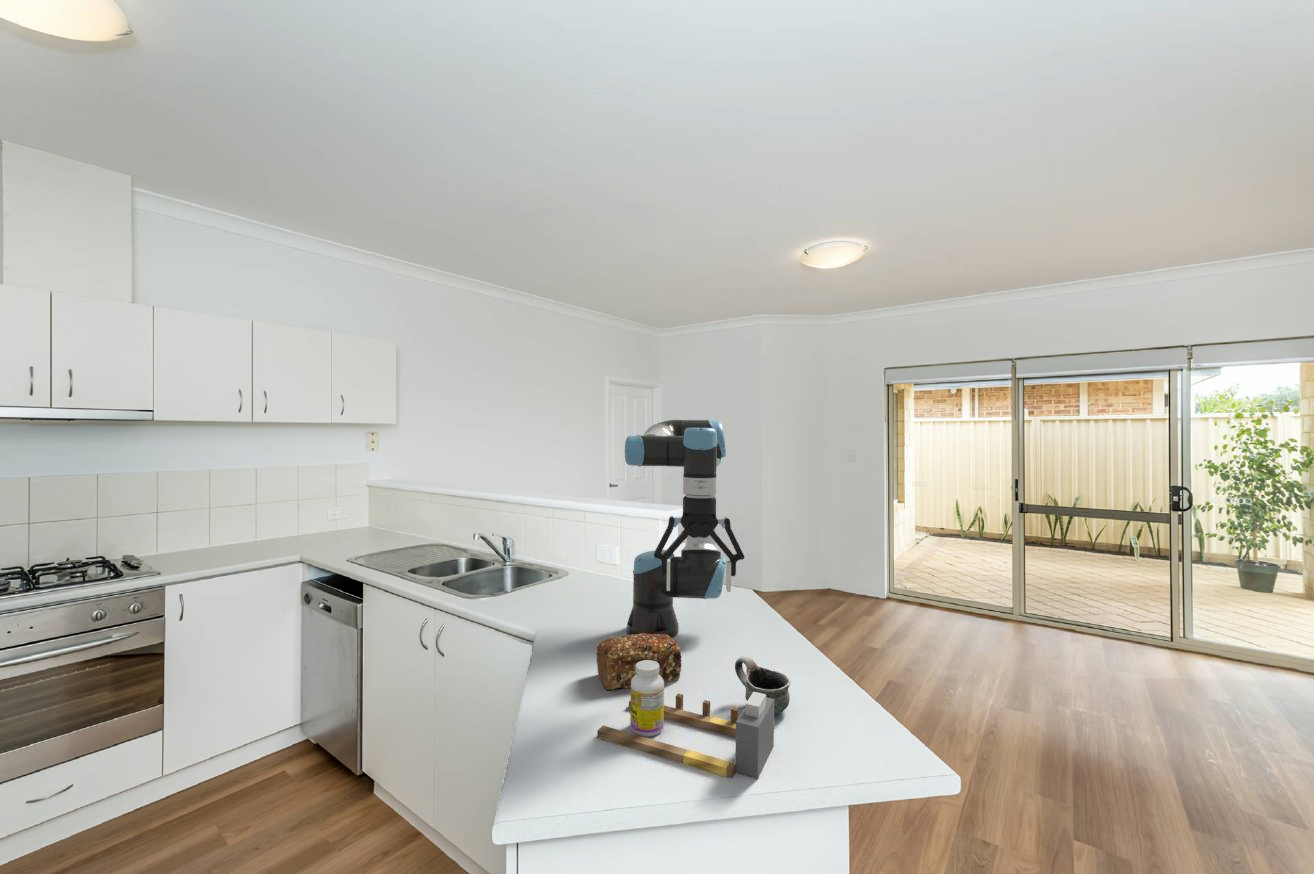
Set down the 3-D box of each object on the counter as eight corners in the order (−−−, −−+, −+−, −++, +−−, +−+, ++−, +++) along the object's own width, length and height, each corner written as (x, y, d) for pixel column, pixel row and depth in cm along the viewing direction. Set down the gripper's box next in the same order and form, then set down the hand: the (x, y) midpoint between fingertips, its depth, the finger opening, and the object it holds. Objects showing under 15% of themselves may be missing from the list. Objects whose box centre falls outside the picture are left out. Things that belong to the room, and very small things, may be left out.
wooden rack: (597, 738, 106) (597, 717, 106) (636, 701, 120) (636, 683, 120) (731, 778, 94) (732, 755, 94) (757, 732, 108) (757, 712, 108)
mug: (780, 728, 110) (781, 678, 110) (723, 710, 117) (724, 663, 117) (796, 707, 119) (796, 661, 118) (741, 692, 125) (742, 648, 125)
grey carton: (733, 772, 96) (734, 709, 96) (751, 740, 106) (752, 683, 106) (757, 779, 94) (758, 715, 94) (773, 746, 104) (774, 688, 104)
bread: (605, 694, 124) (606, 649, 124) (595, 673, 134) (595, 632, 134) (682, 682, 130) (683, 640, 130) (667, 663, 140) (667, 624, 140)
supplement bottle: (629, 720, 113) (630, 658, 112) (661, 719, 113) (662, 657, 113) (630, 739, 106) (631, 672, 106) (665, 737, 106) (666, 671, 106)
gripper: (643, 497, 121) (642, 593, 121) (757, 498, 121) (756, 595, 121) (645, 493, 128) (643, 584, 129) (752, 494, 128) (751, 586, 128)
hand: (698, 589), depth 125 cm, fingers open, 13 cm apart
